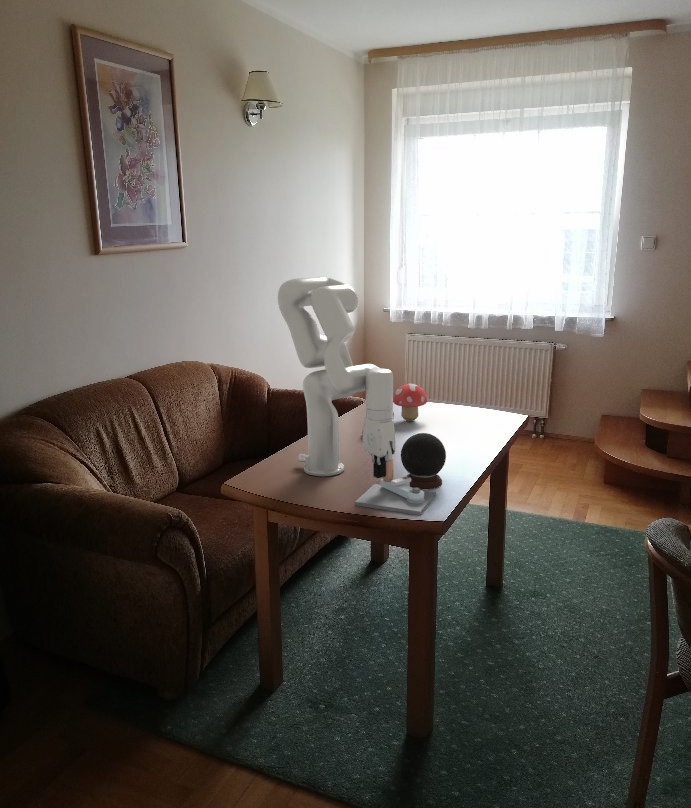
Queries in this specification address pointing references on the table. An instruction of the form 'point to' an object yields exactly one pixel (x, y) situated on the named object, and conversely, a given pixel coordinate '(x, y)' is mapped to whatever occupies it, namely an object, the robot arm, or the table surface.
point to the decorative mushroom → (409, 400)
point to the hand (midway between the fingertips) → (379, 476)
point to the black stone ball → (423, 460)
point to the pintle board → (394, 499)
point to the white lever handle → (401, 486)
